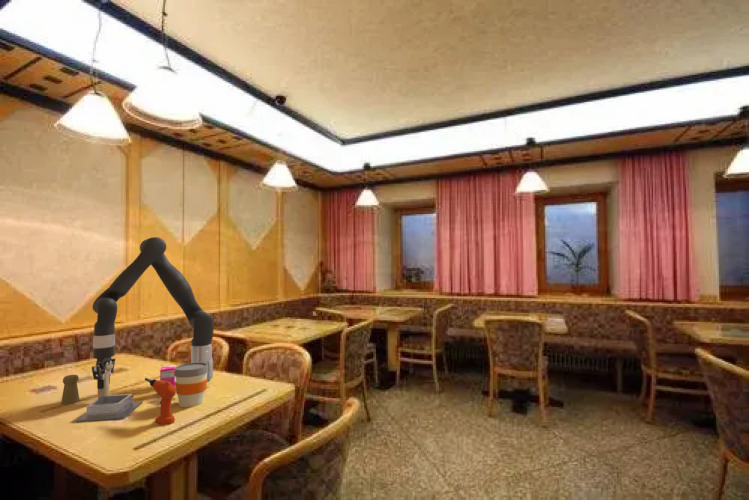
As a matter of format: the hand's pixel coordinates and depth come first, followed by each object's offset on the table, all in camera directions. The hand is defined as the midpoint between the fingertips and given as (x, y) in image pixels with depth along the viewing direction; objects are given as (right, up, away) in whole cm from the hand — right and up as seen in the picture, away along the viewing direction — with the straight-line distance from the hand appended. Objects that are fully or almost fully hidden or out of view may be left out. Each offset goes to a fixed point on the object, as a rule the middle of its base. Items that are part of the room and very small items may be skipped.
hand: (103, 386), depth 157 cm
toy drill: (+34, -5, -19) cm, 39 cm away
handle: (0, -6, 0) cm, 6 cm away
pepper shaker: (-14, -7, 0) cm, 16 cm away
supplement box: (+22, -7, +10) cm, 25 cm away
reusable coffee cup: (+38, -6, -3) cm, 39 cm away
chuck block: (+11, -6, -12) cm, 17 cm away
